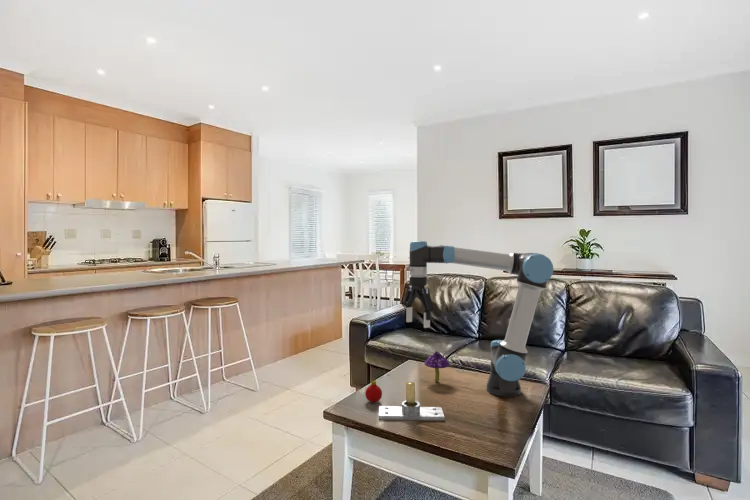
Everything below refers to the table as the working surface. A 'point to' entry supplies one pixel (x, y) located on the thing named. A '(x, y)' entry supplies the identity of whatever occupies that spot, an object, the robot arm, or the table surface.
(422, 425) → the table surface
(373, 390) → the christmas ornament
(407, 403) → the hinge pin
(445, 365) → the decorative mushroom
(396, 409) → the hinge leaves
